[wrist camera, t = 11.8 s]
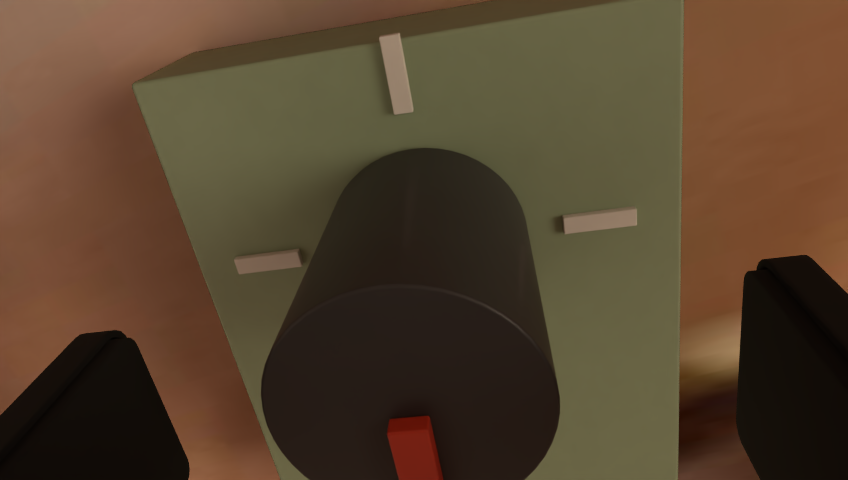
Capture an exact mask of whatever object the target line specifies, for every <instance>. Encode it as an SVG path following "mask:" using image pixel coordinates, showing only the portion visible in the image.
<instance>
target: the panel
mask: <svg viewBox="0 0 848 480" xmlns="http://www.w3.org/2000/svg"><path fill="white" fill-rule="evenodd" d="M683 43H684V0H494V1H488V2H482V3H477V4H471V5H465V6H459V7H454V8H448V9H442V10H436V11H430V12H425V13H419V14H413V15H407V16H402V17H396V18H390V19H384V20H378V21H373V22H367V23H361V24H355V25H350V26H344V27H338V28H332V29H326V30H321V31H315V32H309V33H303V34H298V35H292V36H286V37H280V38H274V39H269V40H263V41H257V42H251V43H246V44H240V45H234V46H228V47H222V48H217V49H211V50H205V51H199V52H194V53H191V54H189V55H187V56H185V57H183V58H181V59H179V60H177V61H175V62H174V63H172V64H170V65H168V66H166V67H164V68H162V69H160V70H158V71H156V72H154V73H152V74H150V75H148V76H146V77H144V78H142V79H140V80H138V81H136V82H134V83H133V84H132V89H133V92H134V94H135V97H136V99H137V102H138V105H139V107H140V110H141V113H142V115H143V118H144V121H145V123H146V126H147V128H148V131H149V134H150V136H151V139H152V142H153V144H154V147H155V150H156V152H157V155H158V157H159V160H160V163H161V165H162V168H163V171H164V173H165V176H166V179H167V181H168V184H169V187H170V189H171V192H172V194H173V197H174V200H175V202H176V205H177V208H178V210H179V213H180V216H181V218H182V221H183V223H184V226H185V229H186V231H187V234H188V237H189V239H190V242H191V245H192V247H193V250H194V253H195V255H196V258H197V260H198V263H199V266H200V268H201V271H202V274H203V276H204V279H205V282H206V284H207V287H208V289H209V292H210V295H211V297H212V300H213V303H214V305H215V308H216V311H217V313H218V316H219V318H220V321H221V324H222V326H223V329H224V332H225V334H226V337H227V340H228V342H229V345H230V348H231V350H232V353H233V355H234V358H235V361H236V363H237V366H238V369H239V371H240V374H241V377H242V379H243V382H244V384H245V387H246V390H247V392H248V395H249V398H250V400H251V403H252V406H253V408H254V411H255V413H256V416H257V419H258V421H259V424H260V427H261V429H262V432H263V435H264V437H265V440H266V443H267V445H268V448H269V450H270V453H271V456H272V458H273V461H274V464H275V466H276V469H277V472H278V474H279V477H280V479H281V480H309V479H308V478H306V477H305V476H304V475H303V474H302V473H300V472H299V471H298V470H297V469H296V468H295V467H294V466H293V465H292V464H291V463H290V462H289V460H288V459H287V458H286V457H285V456H284V454H283V453H282V452H281V450H280V449H279V447H278V446H277V444H276V443H275V441H274V440H273V437H272V435H271V433H270V431H269V429H268V427H267V424H266V420H265V417H264V413H263V409H262V400H261V379H262V375H263V370H264V366H265V363H266V360H267V358H268V355H269V353H270V351H271V348H272V346H273V344H274V342H275V339H276V337H277V335H278V333H279V330H280V328H281V326H282V324H283V321H284V319H285V317H286V315H287V313H288V310H289V308H290V306H291V304H292V301H293V299H294V297H295V295H296V292H297V290H298V288H299V286H300V284H301V281H302V279H303V277H304V275H305V272H306V270H307V268H308V266H309V263H310V261H311V259H312V257H313V254H314V252H315V250H316V248H317V246H318V243H319V241H320V239H321V237H322V234H323V232H324V230H325V228H326V225H327V223H328V221H329V219H330V217H331V214H332V212H333V210H334V208H335V205H336V203H337V201H338V199H339V197H340V195H341V194H342V192H343V190H344V189H345V187H346V186H347V185H348V183H349V182H350V181H351V180H352V179H353V178H354V177H355V176H356V175H357V174H358V173H359V172H360V171H361V170H362V169H364V168H365V167H367V166H368V165H370V164H371V163H372V162H374V161H376V160H378V159H380V158H382V157H384V156H387V155H390V154H393V153H395V152H399V151H404V150H408V149H417V148H438V149H444V150H450V151H454V152H458V153H461V154H464V155H467V156H469V157H471V158H473V159H476V160H478V161H479V162H481V163H483V164H484V165H486V166H488V167H489V168H491V169H492V170H493V171H494V172H495V173H497V174H498V175H499V176H500V177H501V178H502V179H503V180H504V181H505V182H506V183H507V184H508V185H509V187H510V188H511V190H512V191H513V192H514V194H515V195H516V197H517V199H518V201H519V203H520V205H521V207H522V210H523V213H524V215H525V219H526V224H527V229H528V234H529V239H530V244H531V249H532V255H533V260H534V265H535V270H536V275H537V280H538V286H539V291H540V296H541V301H542V306H543V311H544V317H545V322H546V327H547V332H548V337H549V342H550V347H551V353H552V358H553V363H554V368H555V373H556V378H557V384H558V389H559V395H560V416H559V422H558V428H557V431H556V434H555V437H554V440H553V442H552V444H551V446H550V448H549V450H548V452H547V454H546V456H545V457H544V459H543V460H542V461H541V463H540V464H539V465H538V466H537V468H536V469H535V470H534V471H533V472H532V473H531V474H530V475H529V476H528V477H527V478H526V479H525V480H678V432H679V354H680V276H681V198H682V121H683Z"/></svg>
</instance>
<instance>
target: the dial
mask: <svg viewBox="0 0 848 480" xmlns="http://www.w3.org/2000/svg"><path fill="white" fill-rule="evenodd" d="M261 400H262V409H263V413H264V417H265V420H266V424H267V427H268V429H269V431H270V433H271V435H272V437H273V440H274V441H275V443H276V444H277V446H278V447H279V449H280V450H281V452H282V453H283V454H284V456H285V457H286V458H287V459H288V460H289V462H290V463H291V464H292V465H293V466H294V467H295V468H296V469H297V470H298V471H299V472H300V473H302V474H303V475H304V476H305V477H306V478H308V479H309V480H525V479H526V478H527V477H528V476H529V475H530V474H531V473H532V472H533V471H534V470H535V469H536V468H537V466H538V465H539V464H540V463H541V461H542V460H543V459H544V457H545V456H546V454H547V452H548V450H549V448H550V446H551V444H552V442H553V440H554V437H555V434H556V431H557V428H558V422H559V416H560V395H559V389H558V384H557V378H556V373H555V368H554V363H553V358H552V353H551V347H550V342H549V337H548V332H547V327H546V322H545V317H544V311H543V306H542V301H541V296H540V291H539V286H538V280H537V275H536V270H535V265H534V260H533V255H532V249H531V244H530V239H529V234H528V229H527V224H526V219H525V215H524V213H523V210H522V207H521V205H520V203H519V201H518V199H517V197H516V195H515V194H514V192H513V191H512V190H511V188H510V187H509V185H508V184H507V183H506V182H505V181H504V180H503V179H502V178H501V177H500V176H499V175H498V174H497V173H495V172H494V171H493V170H492V169H491V168H489V167H488V166H486V165H484V164H483V163H481V162H479V161H478V160H476V159H473V158H471V157H469V156H467V155H464V154H461V153H458V152H454V151H450V150H444V149H438V148H417V149H408V150H404V151H399V152H395V153H393V154H390V155H387V156H384V157H382V158H380V159H378V160H376V161H374V162H372V163H371V164H370V165H368V166H367V167H365V168H364V169H362V170H361V171H360V172H359V173H358V174H357V175H356V176H355V177H354V178H353V179H352V180H351V181H350V182H349V183H348V185H347V186H346V187H345V189H344V190H343V192H342V194H341V195H340V197H339V199H338V201H337V203H336V205H335V208H334V210H333V212H332V214H331V217H330V219H329V221H328V223H327V225H326V228H325V230H324V232H323V234H322V237H321V239H320V241H319V243H318V246H317V248H316V250H315V252H314V254H313V257H312V259H311V261H310V263H309V266H308V268H307V270H306V272H305V275H304V277H303V279H302V281H301V284H300V286H299V288H298V290H297V292H296V295H295V297H294V299H293V301H292V304H291V306H290V308H289V310H288V313H287V315H286V317H285V319H284V321H283V324H282V326H281V328H280V330H279V333H278V335H277V337H276V339H275V342H274V344H273V346H272V348H271V351H270V353H269V355H268V358H267V360H266V363H265V366H264V370H263V375H262V379H261Z"/></svg>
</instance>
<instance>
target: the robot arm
mask: <svg viewBox="0 0 848 480" xmlns="http://www.w3.org/2000/svg"><path fill="white" fill-rule="evenodd" d="M736 423H737V429H738V434H739V437H740V440H741V443H742V445H743V447H744V449H745V451H746V453H747V455H748V457H749V459H750V461H751V462H752V464H753V466H754V468H755V470H756V472H757V474H758V476H759V478H760V480H848V294H847V293H846V292H845V291H844V290H843V289H842V288H841V287H840V286H839V285H838V284H837V283H836V282H835V281H834V280H833V279H832V278H831V277H830V276H829V275H828V274H827V273H826V272H825V271H824V270H823V269H822V268H821V267H820V266H819V265H818V264H817V263H816V262H815V261H814V260H813V259H812V258H810V257H809V256H807V255H799V256H790V257H781V258H771V259H762V260H761V261H760V262H759V263H758V266H757V270H756V271H748V272H747V273H746V274H745V277H744V286H743V304H742V322H741V340H740V358H739V376H738V394H737V412H736ZM188 478H189V462H188V459H187V457H186V454H185V452H184V450H183V448H182V445H181V443H180V441H179V439H178V436H177V434H176V432H175V429H174V427H173V425H172V423H171V420H170V418H169V416H168V414H167V411H166V409H165V407H164V405H163V402H162V400H161V398H160V395H159V393H158V391H157V389H156V386H155V384H154V382H153V380H152V377H151V375H150V373H149V371H148V368H147V366H146V364H145V362H144V359H143V357H142V355H141V352H140V350H139V348H138V346H137V344H136V342H135V341H134V340H132V339H131V338H127V337H126V335H124V334H123V333H122V332H121V331H117V330H113V331H103V332H94V333H86V334H81V335H79V336H78V337H76V338H75V339H74V340H73V341H72V342H71V343H70V344H69V345H68V346H67V347H66V348H65V349H64V350H63V352H62V353H61V354H60V355H59V356H58V357H57V358H56V359H55V360H54V361H53V362H52V363H51V364H50V365H49V366H48V367H47V368H46V369H45V370H44V371H43V372H42V373H41V374H40V375H39V376H38V377H37V378H36V379H35V380H34V381H33V382H32V383H31V384H30V386H29V387H28V388H27V389H26V390H25V391H24V392H23V393H22V394H21V395H20V396H19V397H18V398H17V399H16V400H15V401H14V402H13V403H12V404H11V405H10V406H9V407H8V408H7V409H6V410H5V411H4V412H3V413H2V414H1V415H0V480H188Z"/></svg>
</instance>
